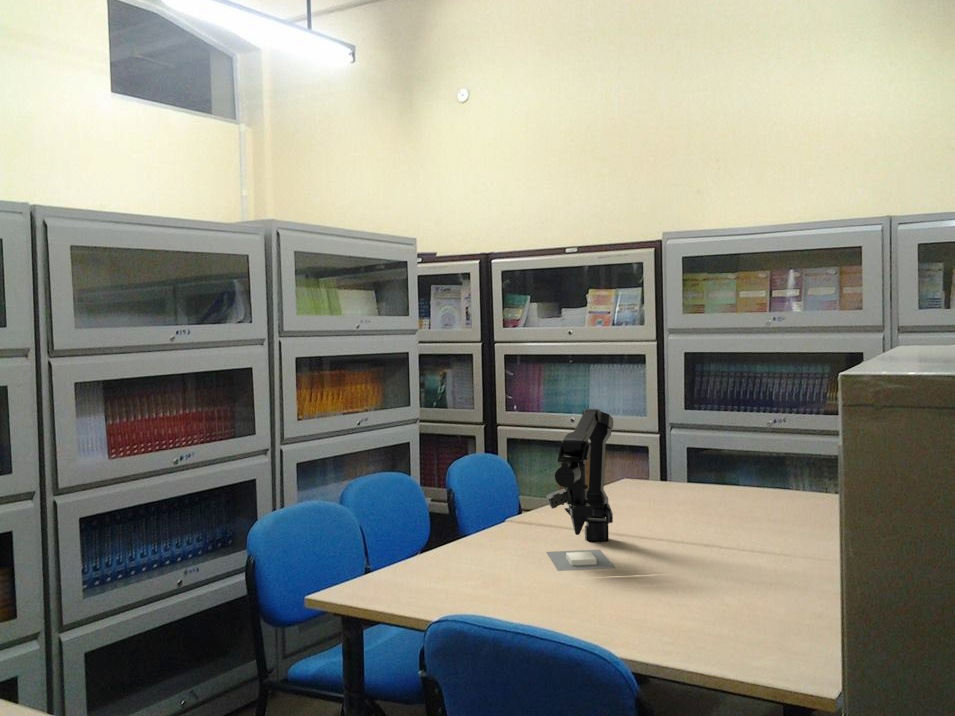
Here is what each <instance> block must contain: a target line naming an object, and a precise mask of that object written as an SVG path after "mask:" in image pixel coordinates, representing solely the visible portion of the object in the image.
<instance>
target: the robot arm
mask: <svg viewBox="0 0 955 716" xmlns="http://www.w3.org/2000/svg"><path fill="white" fill-rule="evenodd" d="M613 428H614V418H613V417H612V416H611V414H609V413H606V412H604V411H601V410H600V409H598V408H585V409H583V410H582V414H581V417H580V419H579V421H578V422H577V425H576V427H575V429H574V430H573V431H572V432H569V433H567V434H566V435H565V436H564V438H563V440H561V442H560V446H559V452H558V458H557V463H561V464H560V465H561V466H560V467H559V468H557V469H556V471H555V473H554V480H555V482H556V483H557V484H558V485H559V486H560V487H562V488H561V489H558V490H555V491H553V492H552V493H548V494H547V495H545V496H546V497H545V498H546V500H547V502H548V505H549V507H551V509H556V508H557V507H560V506H564V505H565V504H566V506H567V507H565V508H564V510H565V512H566V513H567V514H568V515H569V516H570V519H571V523H572V527H573V531H574V534H575V535H576V536H577V535H578V536H580V534H581V532H582V529H583V527H584V539H585V541H587V542H588V543H609V542H611V541H610V540H609V524H612V523H613V522H614V517H613V515H614V514H613V511H612V508H611V506H610V505H611V504H609V497H608V495H607V494H606V492H605V489H604V488H605V487H604V485H605V483H604V482H605V469H606V468H605V467H606V444H607V441H608V440H609V438H610V437H611V435H612V430H613ZM589 440H590V441H589ZM588 460H589V472H588V473H589V475H588V484H587V468H586V467H587V466H586V462H587V461H588ZM585 523H586V525H585Z"/></svg>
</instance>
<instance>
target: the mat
mask: <svg viewBox="0 0 955 716" xmlns="http://www.w3.org/2000/svg"><path fill="white" fill-rule="evenodd" d="M545 552H546V554H547V556H548V557H549V559H550V561H551V562H552V564H553V565H554V567H555V569H556V570H557V572H561V571H580V570H581V571H582V570H583V571H584V570H586V571H587V570H605V569H617V567H616V566H615V565H614V564H613V563H612V562H611V560H610V559H609V558H608V557H607V556H606V555H605V554H604V553H603V551H602V550H601V549H579V550H557V551H556V550H555V551H545ZM572 552H591V553H592V554H593V556H594V557H595V558H596V563H597V564H595V565H573V566H571V564H570V563H569V561H568V560H567V558H566V553H572Z"/></svg>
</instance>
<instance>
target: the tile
mask: <svg viewBox="0 0 955 716" xmlns="http://www.w3.org/2000/svg"><path fill="white" fill-rule="evenodd" d="M566 558H567V560H568V561H569V563H570V564H571V566H573V565H595V564H597V563H596V558H595V557H594V556H593V554H592V553H591V552H572V553H566Z"/></svg>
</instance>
